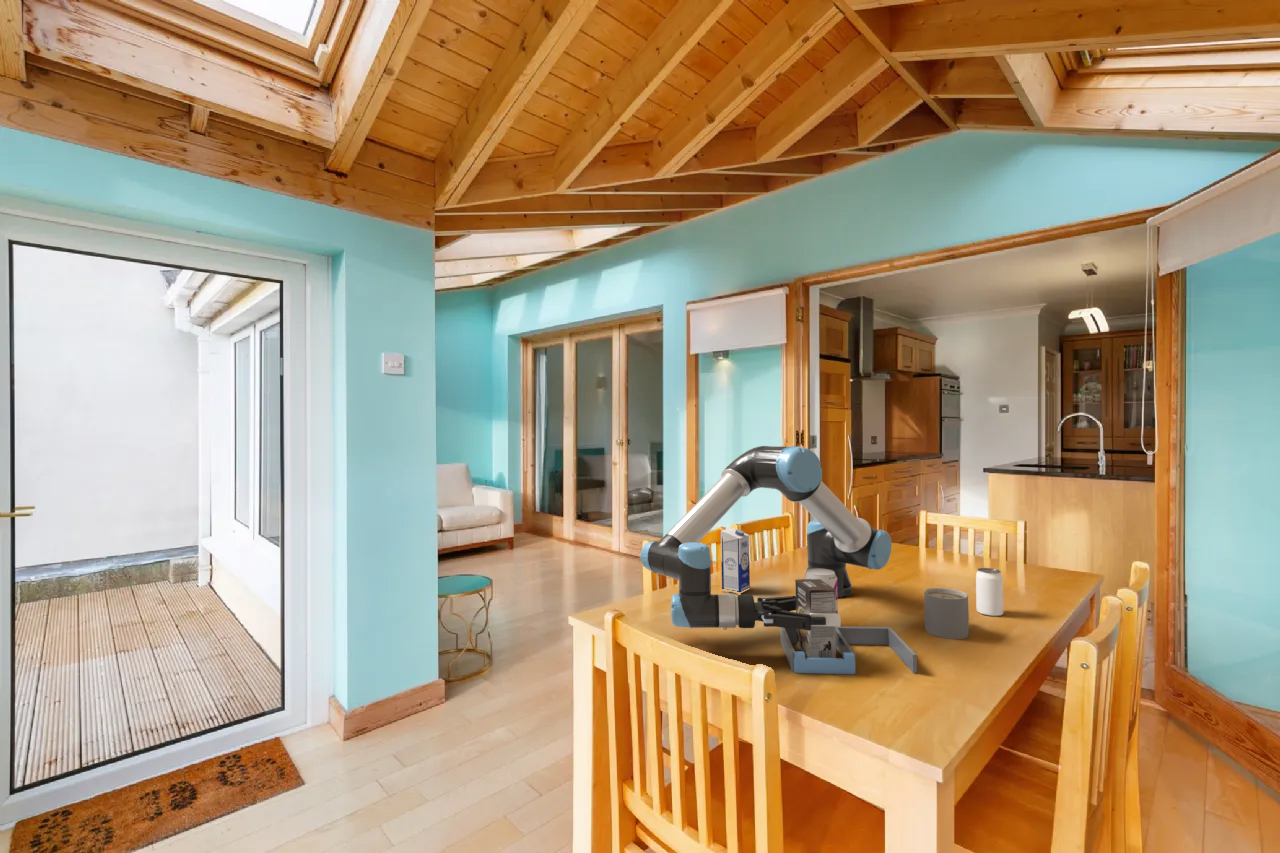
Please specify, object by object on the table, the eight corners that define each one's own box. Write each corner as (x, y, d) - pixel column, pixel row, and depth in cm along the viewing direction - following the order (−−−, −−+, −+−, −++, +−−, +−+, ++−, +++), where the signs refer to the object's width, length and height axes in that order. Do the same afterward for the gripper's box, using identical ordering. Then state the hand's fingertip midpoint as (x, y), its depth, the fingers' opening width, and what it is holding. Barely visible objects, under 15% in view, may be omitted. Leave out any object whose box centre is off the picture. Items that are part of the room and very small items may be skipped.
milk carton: (731, 586, 193) (730, 526, 193) (750, 589, 189) (749, 528, 189) (721, 591, 187) (720, 530, 187) (740, 595, 183) (739, 532, 183)
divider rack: (780, 641, 144) (780, 625, 144) (890, 643, 141) (890, 626, 141) (793, 673, 126) (792, 654, 126) (919, 676, 123) (919, 656, 123)
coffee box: (795, 646, 138) (794, 579, 138) (821, 645, 139) (820, 577, 139) (809, 661, 129) (808, 589, 129) (837, 660, 130) (836, 588, 130)
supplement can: (838, 624, 155) (837, 568, 155) (838, 635, 147) (836, 576, 147) (806, 621, 158) (805, 567, 158) (805, 632, 150) (803, 574, 150)
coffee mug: (963, 642, 141) (962, 601, 141) (919, 633, 148) (919, 594, 148) (976, 627, 151) (975, 589, 151) (935, 619, 158) (934, 582, 158)
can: (1007, 617, 158) (1006, 573, 158) (981, 616, 160) (980, 572, 159) (997, 609, 165) (997, 567, 165) (972, 608, 166) (972, 567, 166)
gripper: (733, 611, 147) (823, 612, 145) (741, 645, 125) (847, 647, 123) (733, 582, 147) (823, 582, 145) (740, 610, 125) (846, 611, 123)
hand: (834, 612), depth 134 cm, fingers closed on coffee box, 10 cm apart
